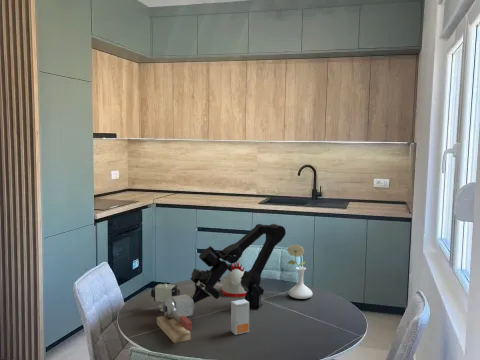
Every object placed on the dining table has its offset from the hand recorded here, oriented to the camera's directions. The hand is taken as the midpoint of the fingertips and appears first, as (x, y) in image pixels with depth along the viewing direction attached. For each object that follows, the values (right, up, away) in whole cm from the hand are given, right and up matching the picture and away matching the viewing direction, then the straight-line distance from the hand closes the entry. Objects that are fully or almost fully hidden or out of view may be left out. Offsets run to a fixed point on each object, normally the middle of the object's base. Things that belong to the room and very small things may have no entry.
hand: (191, 303), depth 184 cm
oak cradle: (-6, -8, -11) cm, 15 cm away
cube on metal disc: (-4, -4, -2) cm, 6 cm away
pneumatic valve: (-12, -6, +10) cm, 17 cm away
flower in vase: (+48, -5, +28) cm, 56 cm away
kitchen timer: (+18, -4, +34) cm, 39 cm away
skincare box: (+20, -8, -12) cm, 24 cm away
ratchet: (-2, -5, -10) cm, 11 cm away
